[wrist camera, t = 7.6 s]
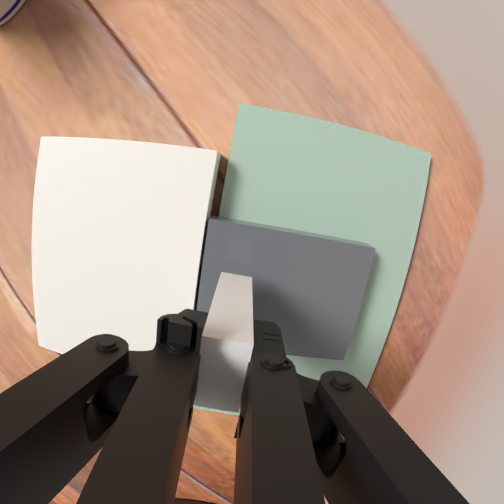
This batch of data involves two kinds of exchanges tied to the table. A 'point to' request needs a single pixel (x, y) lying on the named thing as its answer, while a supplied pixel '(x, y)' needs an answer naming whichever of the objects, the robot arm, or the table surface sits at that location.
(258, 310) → the slate tile
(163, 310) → the board
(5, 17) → the energy drink
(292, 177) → the mat
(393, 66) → the table surface
